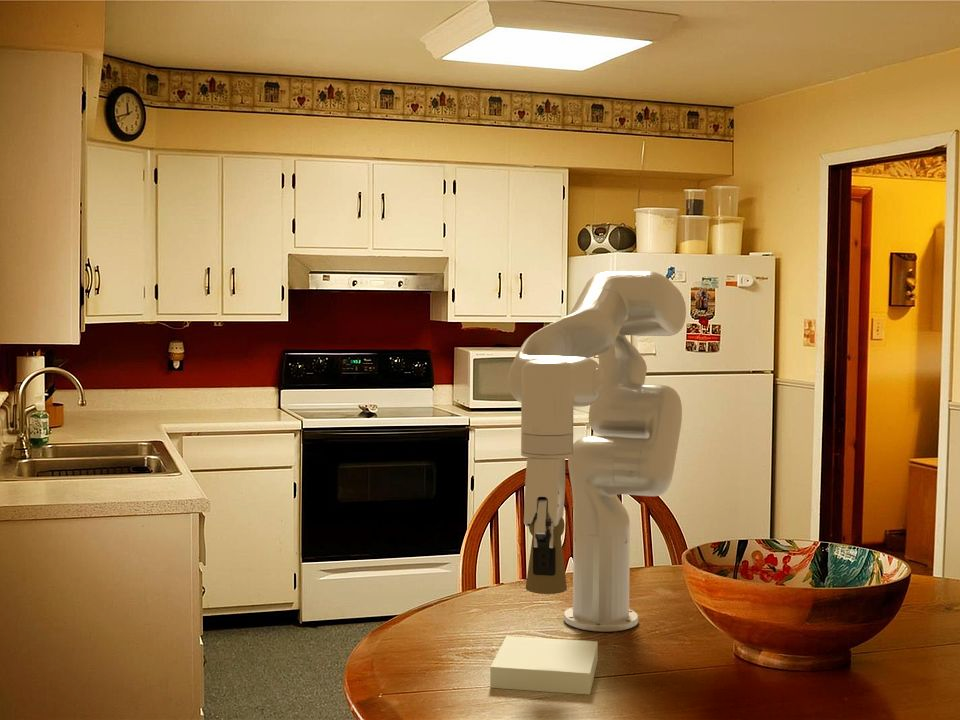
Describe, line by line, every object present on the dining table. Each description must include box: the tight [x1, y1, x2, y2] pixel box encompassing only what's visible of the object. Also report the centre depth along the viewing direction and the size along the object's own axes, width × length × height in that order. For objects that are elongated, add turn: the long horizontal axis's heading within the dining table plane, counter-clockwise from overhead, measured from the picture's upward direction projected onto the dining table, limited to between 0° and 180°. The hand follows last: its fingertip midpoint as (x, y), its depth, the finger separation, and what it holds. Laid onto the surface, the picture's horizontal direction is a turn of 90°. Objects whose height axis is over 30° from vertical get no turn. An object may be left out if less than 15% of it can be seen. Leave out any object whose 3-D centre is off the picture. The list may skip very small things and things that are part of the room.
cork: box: [525, 516, 568, 595], centre depth 155 cm, size 6×6×11 cm
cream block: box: [489, 635, 599, 695], centre depth 156 cm, size 14×14×3 cm
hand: (546, 569), depth 155 cm, fingers closed on cork, 4 cm apart
